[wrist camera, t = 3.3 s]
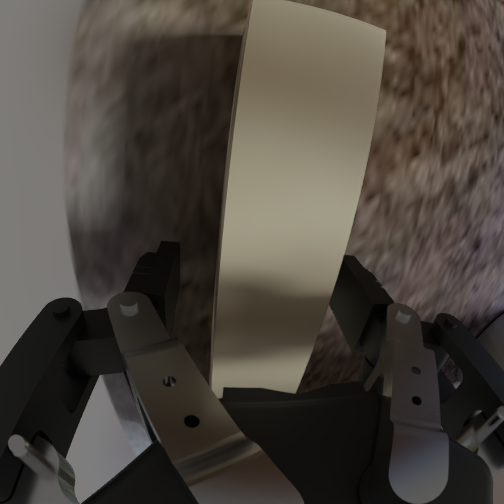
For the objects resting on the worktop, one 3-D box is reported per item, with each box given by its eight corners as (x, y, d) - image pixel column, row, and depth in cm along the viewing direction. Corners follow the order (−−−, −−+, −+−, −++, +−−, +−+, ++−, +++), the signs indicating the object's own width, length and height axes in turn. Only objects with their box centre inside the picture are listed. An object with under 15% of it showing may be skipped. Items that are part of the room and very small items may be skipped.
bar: (241, 36, 9) (253, -5, 5) (330, 53, 9) (385, 30, 5) (209, 378, 17) (209, 441, 13) (264, 379, 17) (274, 440, 13)
